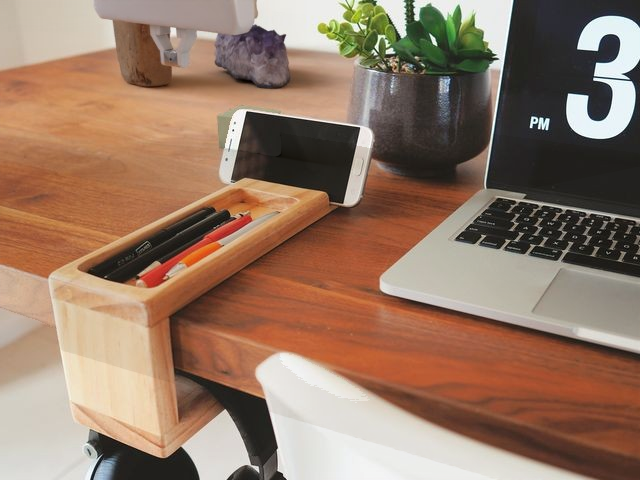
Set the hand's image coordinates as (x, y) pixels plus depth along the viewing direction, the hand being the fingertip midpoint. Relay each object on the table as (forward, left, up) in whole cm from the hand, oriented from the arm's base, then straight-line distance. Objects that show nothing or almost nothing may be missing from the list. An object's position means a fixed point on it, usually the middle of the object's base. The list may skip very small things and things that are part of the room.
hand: (175, 65), depth 87 cm
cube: (+10, 0, -10) cm, 14 cm away
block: (-27, +28, -10) cm, 40 cm away
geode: (-13, +41, -10) cm, 44 cm away
